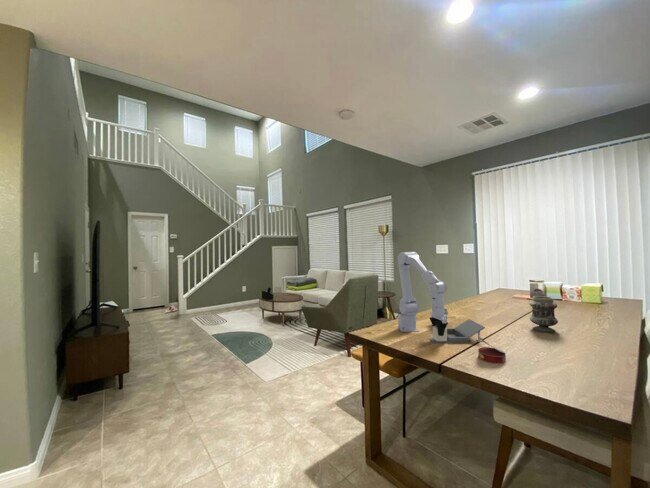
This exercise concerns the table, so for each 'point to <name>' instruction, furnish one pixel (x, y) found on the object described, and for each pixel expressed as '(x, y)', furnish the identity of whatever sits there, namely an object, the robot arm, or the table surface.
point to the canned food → (491, 354)
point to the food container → (445, 312)
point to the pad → (438, 341)
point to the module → (436, 336)
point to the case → (464, 332)
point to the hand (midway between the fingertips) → (438, 333)
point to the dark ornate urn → (543, 313)
